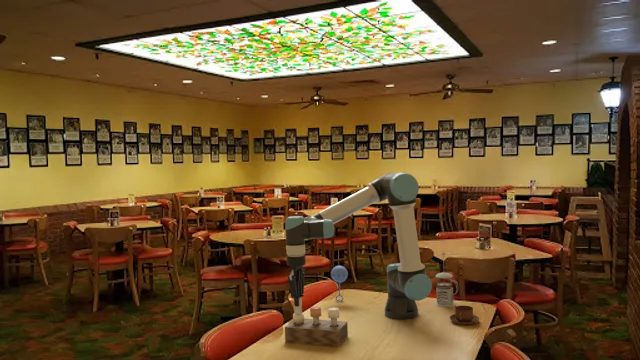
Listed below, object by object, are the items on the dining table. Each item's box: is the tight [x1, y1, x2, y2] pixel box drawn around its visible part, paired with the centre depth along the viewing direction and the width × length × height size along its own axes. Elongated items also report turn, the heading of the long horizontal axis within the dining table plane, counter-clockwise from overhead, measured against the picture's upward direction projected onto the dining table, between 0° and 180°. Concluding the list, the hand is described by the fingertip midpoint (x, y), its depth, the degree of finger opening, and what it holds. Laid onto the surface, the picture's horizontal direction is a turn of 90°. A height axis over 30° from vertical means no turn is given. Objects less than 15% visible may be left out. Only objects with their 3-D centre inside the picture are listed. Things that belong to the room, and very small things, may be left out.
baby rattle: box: [330, 265, 349, 302], centre depth 248 cm, size 9×9×18 cm
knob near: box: [327, 307, 340, 327], centre depth 191 cm, size 4×4×7 cm
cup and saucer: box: [449, 305, 480, 325], centre depth 208 cm, size 12×12×6 cm
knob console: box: [284, 317, 349, 348], centre depth 194 cm, size 22×12×6 cm, turn 70°
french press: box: [434, 252, 459, 308], centre depth 234 cm, size 10×12×25 cm
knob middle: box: [309, 305, 322, 326], centre depth 194 cm, size 4×4×7 cm
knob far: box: [292, 312, 305, 324], centre depth 196 cm, size 4×4×7 cm
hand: (298, 313), depth 196 cm, fingers closed
